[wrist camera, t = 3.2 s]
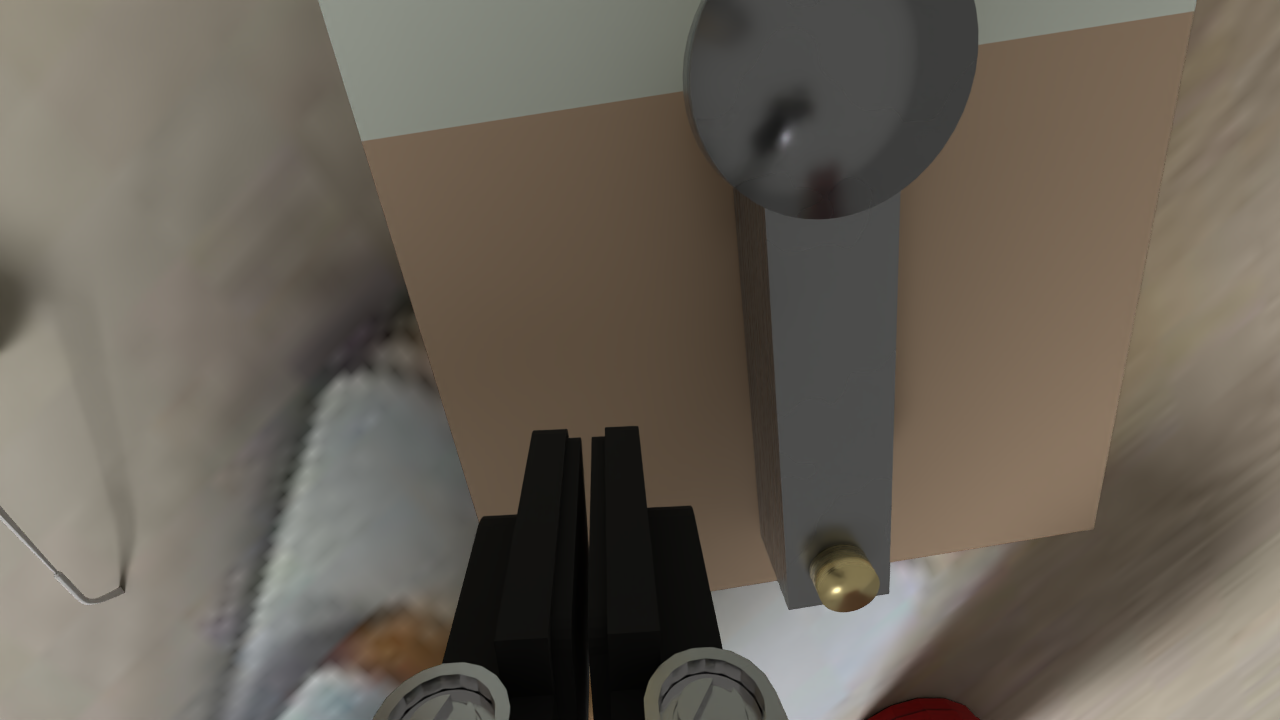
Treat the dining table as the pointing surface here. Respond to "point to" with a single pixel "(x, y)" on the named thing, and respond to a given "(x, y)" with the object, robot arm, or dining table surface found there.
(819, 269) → the latch bar
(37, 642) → the dining table surface
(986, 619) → the dining table surface
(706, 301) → the door board
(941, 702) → the plastic cup
